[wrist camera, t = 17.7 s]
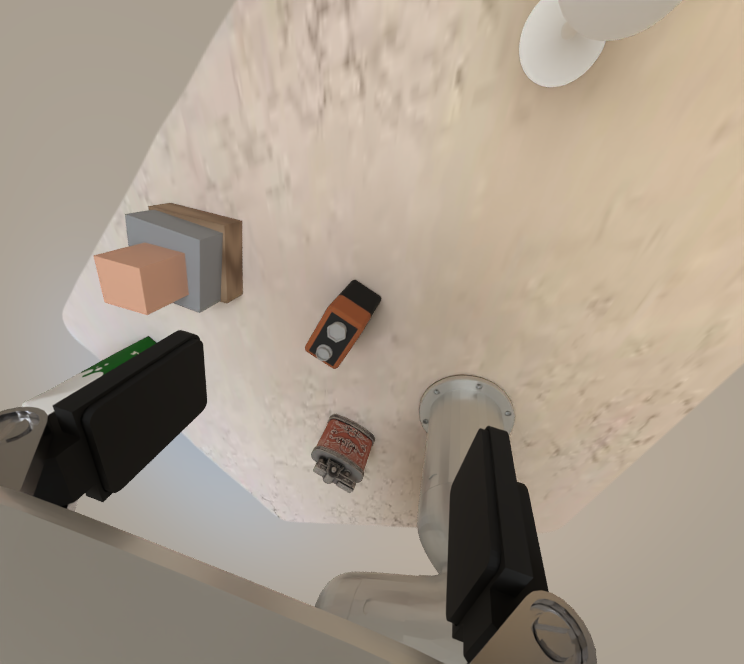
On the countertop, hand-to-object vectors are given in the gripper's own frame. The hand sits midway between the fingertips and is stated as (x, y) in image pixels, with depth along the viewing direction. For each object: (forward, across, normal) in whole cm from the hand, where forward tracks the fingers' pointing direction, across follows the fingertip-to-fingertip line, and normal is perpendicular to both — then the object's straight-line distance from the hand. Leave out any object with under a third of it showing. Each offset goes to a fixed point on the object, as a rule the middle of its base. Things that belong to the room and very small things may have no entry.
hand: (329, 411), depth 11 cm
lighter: (+31, +3, +32) cm, 44 cm away
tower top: (+27, +27, +9) cm, 39 cm away
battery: (+31, +6, +11) cm, 33 cm away
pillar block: (+23, +27, +9) cm, 36 cm away
